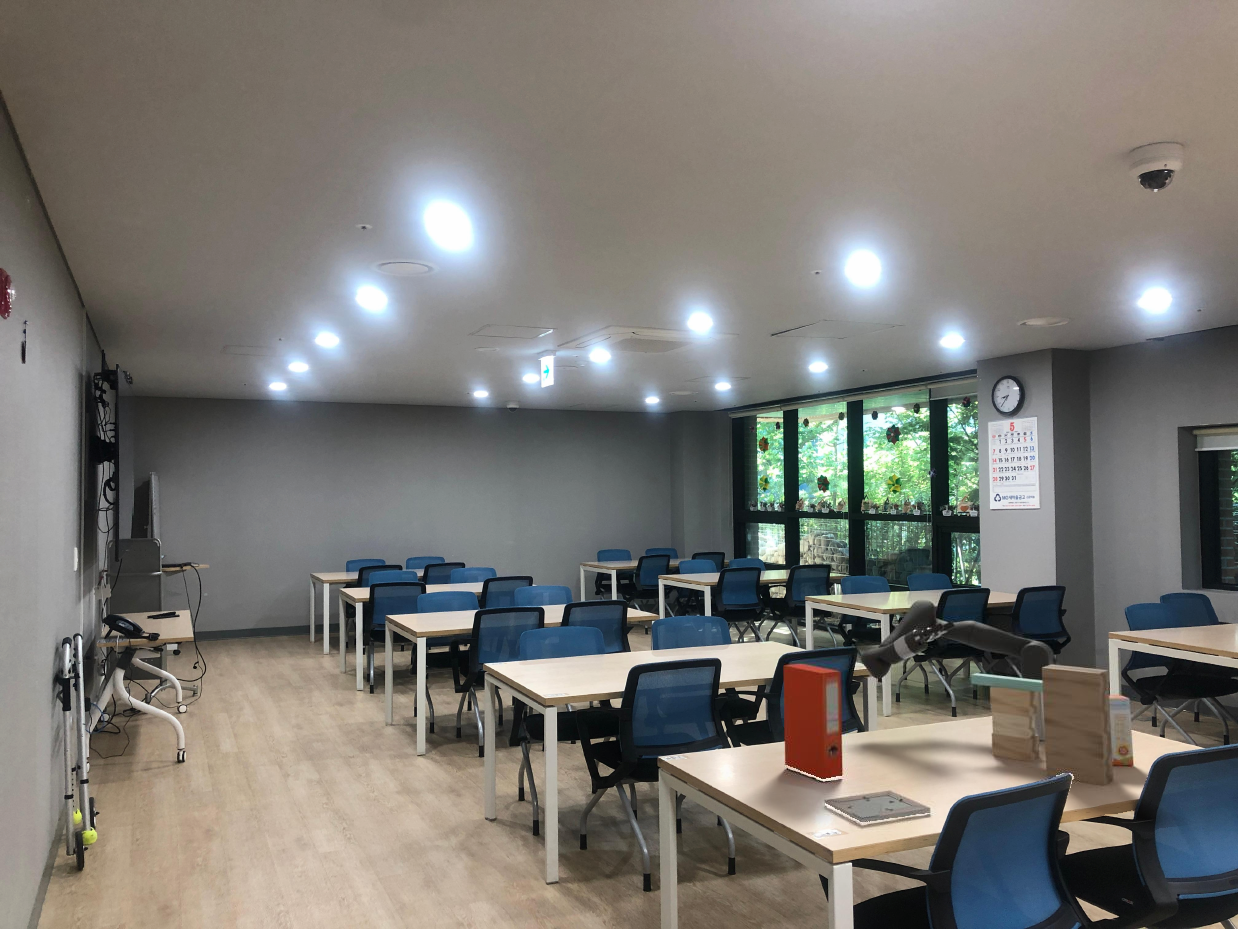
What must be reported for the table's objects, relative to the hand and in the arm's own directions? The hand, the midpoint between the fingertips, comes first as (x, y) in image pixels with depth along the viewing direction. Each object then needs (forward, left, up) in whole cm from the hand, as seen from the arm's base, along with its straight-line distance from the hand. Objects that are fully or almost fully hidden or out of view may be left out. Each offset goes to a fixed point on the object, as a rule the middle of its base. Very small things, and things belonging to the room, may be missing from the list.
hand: (947, 624), depth 305 cm
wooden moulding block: (+12, +44, -41) cm, 61 cm away
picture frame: (+80, +15, -42) cm, 92 cm away
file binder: (+62, -16, -41) cm, 76 cm away
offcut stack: (0, +21, -41) cm, 46 cm away
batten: (0, +21, -19) cm, 29 cm away
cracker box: (-10, +45, -41) cm, 62 cm away
